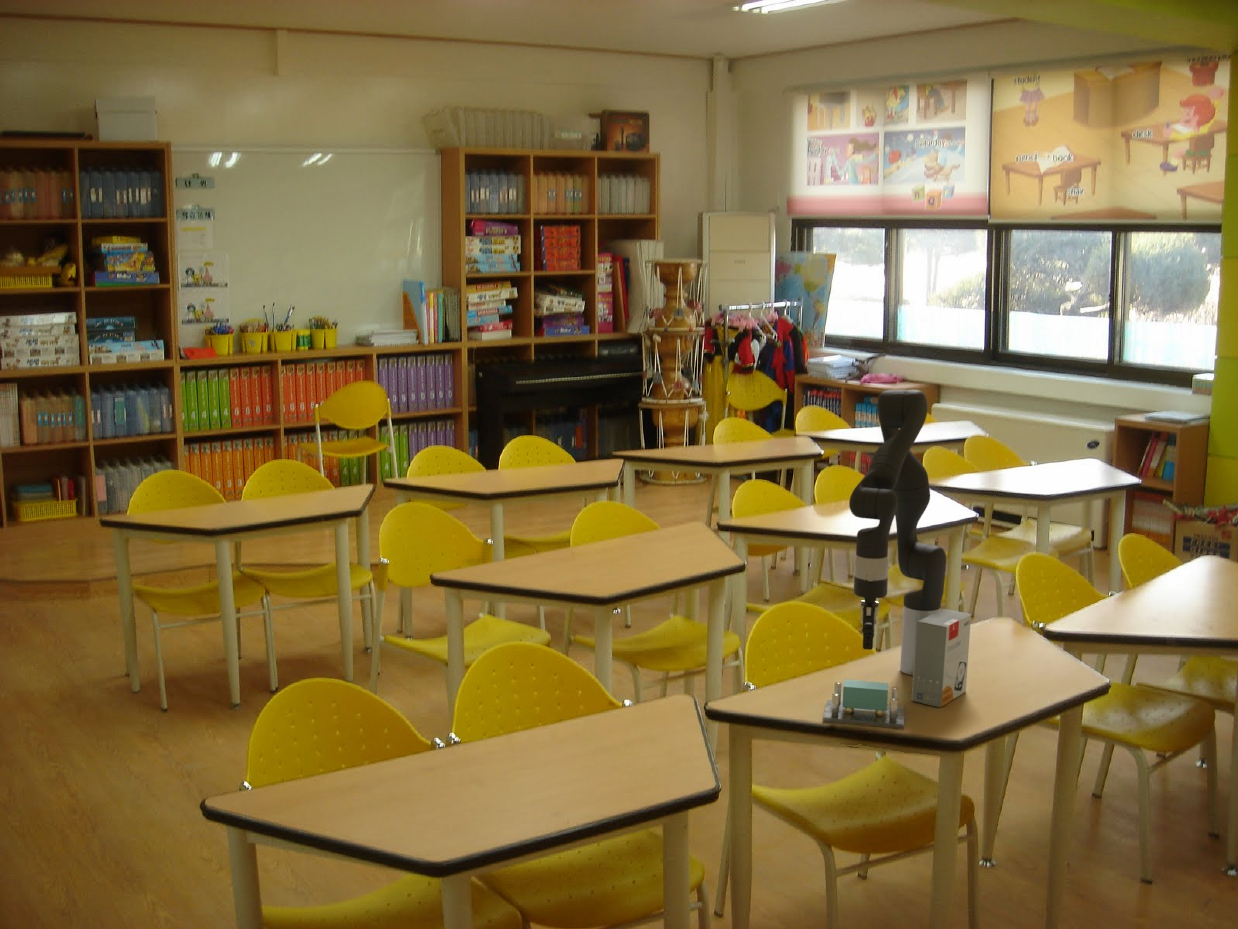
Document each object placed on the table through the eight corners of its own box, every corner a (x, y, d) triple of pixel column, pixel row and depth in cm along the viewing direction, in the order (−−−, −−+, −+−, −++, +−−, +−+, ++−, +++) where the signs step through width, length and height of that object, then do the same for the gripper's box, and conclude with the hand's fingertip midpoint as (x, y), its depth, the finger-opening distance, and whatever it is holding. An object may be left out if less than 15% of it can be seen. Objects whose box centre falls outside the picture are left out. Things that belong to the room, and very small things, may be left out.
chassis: (826, 703, 309) (827, 679, 308) (904, 710, 305) (905, 686, 304) (823, 721, 298) (824, 696, 297) (903, 729, 294) (905, 703, 293)
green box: (843, 700, 304) (844, 679, 304) (887, 703, 302) (888, 683, 301) (842, 707, 300) (843, 686, 299) (886, 711, 298) (887, 690, 297)
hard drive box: (941, 709, 306) (945, 627, 303) (910, 702, 311) (914, 621, 308) (967, 691, 319) (971, 612, 315) (937, 685, 323) (941, 607, 320)
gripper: (855, 565, 303) (853, 633, 306) (852, 581, 289) (850, 651, 292) (888, 567, 301) (885, 635, 304) (887, 583, 288) (884, 654, 291)
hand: (868, 643), depth 298 cm, fingers open, 8 cm apart
